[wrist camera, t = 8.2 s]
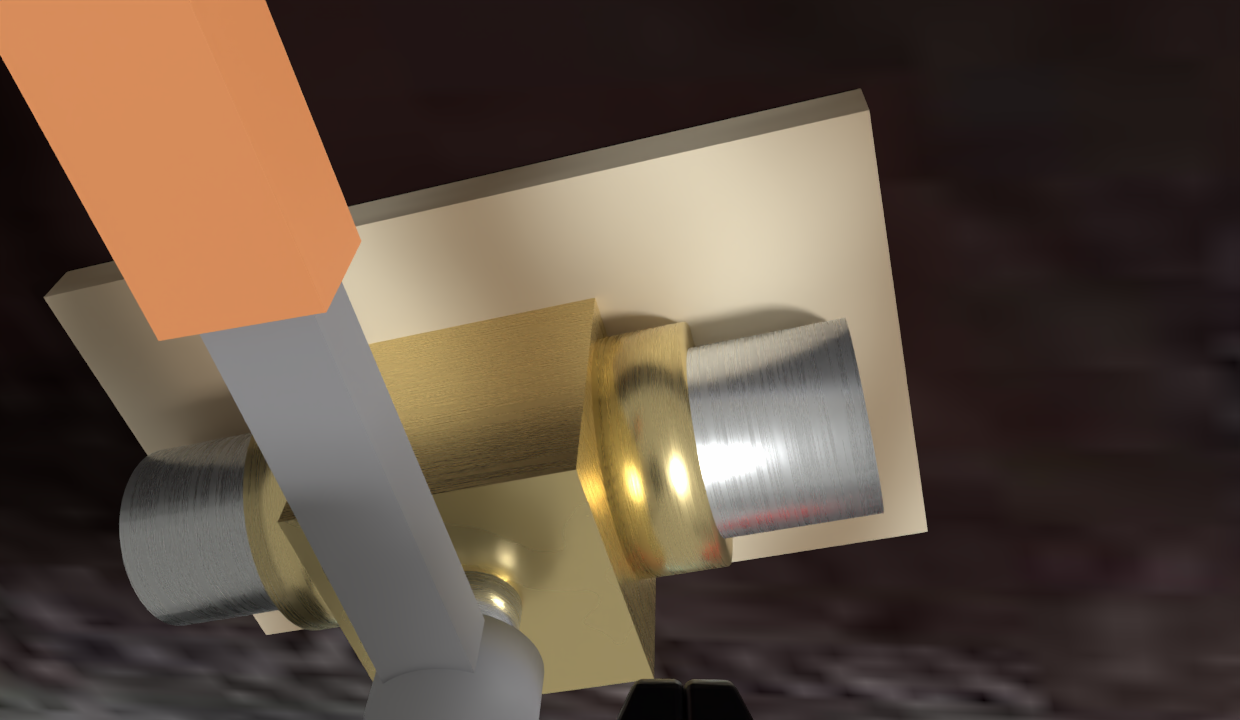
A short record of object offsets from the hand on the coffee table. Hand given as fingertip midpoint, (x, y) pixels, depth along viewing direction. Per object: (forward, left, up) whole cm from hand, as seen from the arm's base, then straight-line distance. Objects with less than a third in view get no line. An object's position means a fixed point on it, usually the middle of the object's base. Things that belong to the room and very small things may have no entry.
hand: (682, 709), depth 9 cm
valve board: (-5, -5, -13) cm, 14 cm away
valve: (-5, -5, -13) cm, 14 cm away
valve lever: (-4, +1, -5) cm, 7 cm away
